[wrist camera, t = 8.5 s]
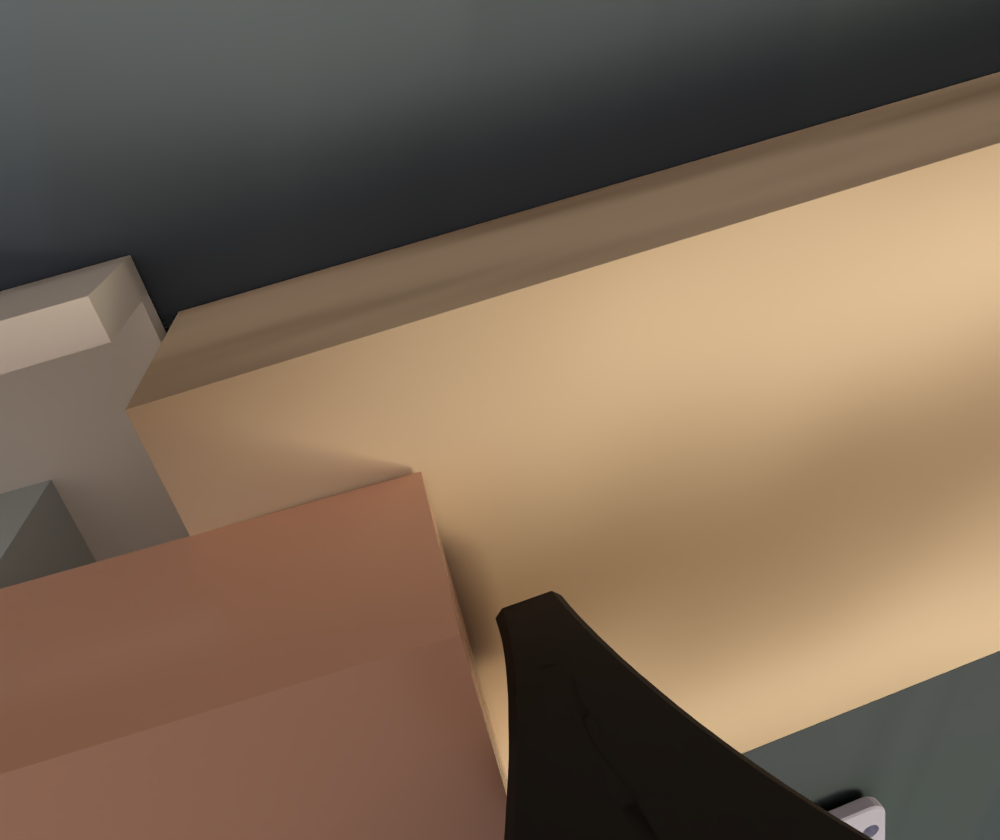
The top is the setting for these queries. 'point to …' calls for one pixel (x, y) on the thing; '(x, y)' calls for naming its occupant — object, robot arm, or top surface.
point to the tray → (84, 403)
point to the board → (660, 411)
